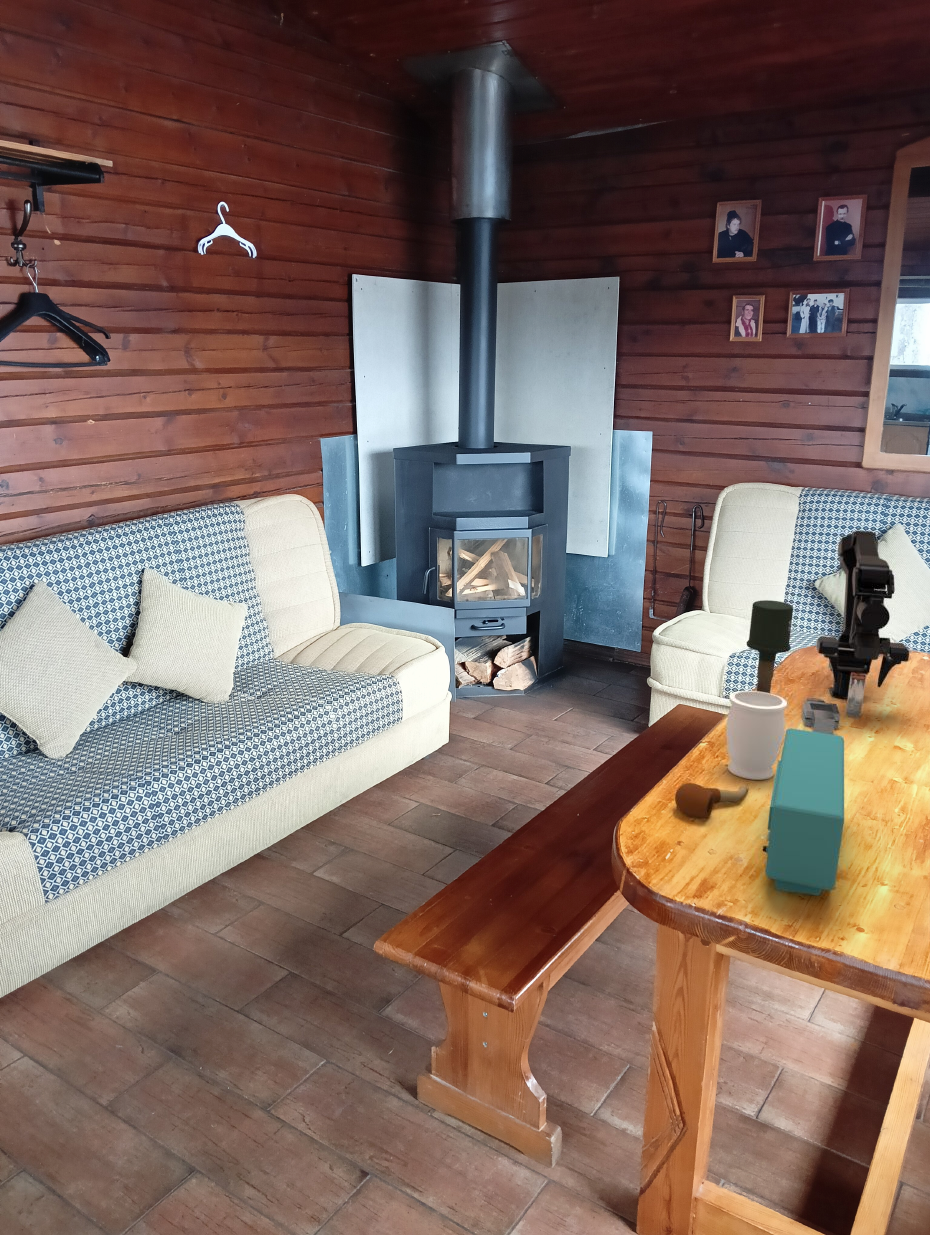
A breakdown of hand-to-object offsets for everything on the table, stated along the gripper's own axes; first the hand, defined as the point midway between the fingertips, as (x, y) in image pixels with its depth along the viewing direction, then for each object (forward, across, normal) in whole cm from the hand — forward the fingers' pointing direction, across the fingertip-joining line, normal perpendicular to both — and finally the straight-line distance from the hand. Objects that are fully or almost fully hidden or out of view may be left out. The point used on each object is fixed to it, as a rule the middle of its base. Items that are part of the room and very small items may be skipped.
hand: (857, 684), depth 213 cm
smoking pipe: (+7, -32, -58) cm, 67 cm away
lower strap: (+7, -8, -3) cm, 11 cm away
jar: (+7, -24, -41) cm, 48 cm away
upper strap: (+7, -8, -10) cm, 14 cm away
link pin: (+7, 0, 0) cm, 7 cm away
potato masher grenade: (+7, -22, -25) cm, 34 cm away
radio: (+7, -18, -72) cm, 75 cm away
